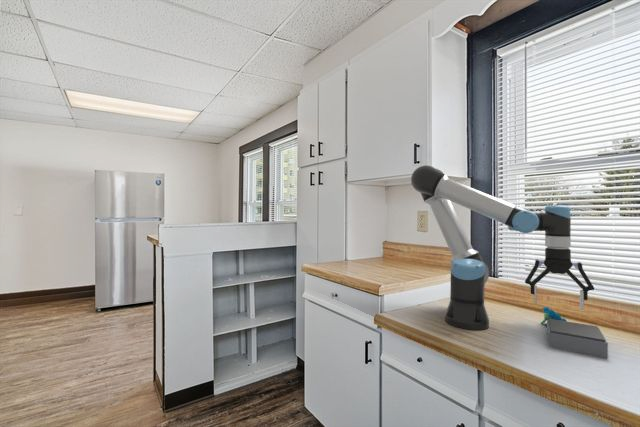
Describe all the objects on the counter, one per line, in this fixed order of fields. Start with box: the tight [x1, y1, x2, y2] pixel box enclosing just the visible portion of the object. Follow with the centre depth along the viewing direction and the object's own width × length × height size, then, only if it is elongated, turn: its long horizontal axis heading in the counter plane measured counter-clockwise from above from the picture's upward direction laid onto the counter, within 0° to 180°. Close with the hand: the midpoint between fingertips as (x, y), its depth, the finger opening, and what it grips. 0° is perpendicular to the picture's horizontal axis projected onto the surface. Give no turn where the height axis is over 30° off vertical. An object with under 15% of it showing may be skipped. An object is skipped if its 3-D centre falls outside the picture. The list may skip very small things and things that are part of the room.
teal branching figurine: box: [540, 306, 568, 328], centre depth 119 cm, size 11×6×10 cm
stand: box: [546, 319, 609, 359], centre depth 104 cm, size 14×15×5 cm
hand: (557, 306), depth 119 cm, fingers open, 13 cm apart
